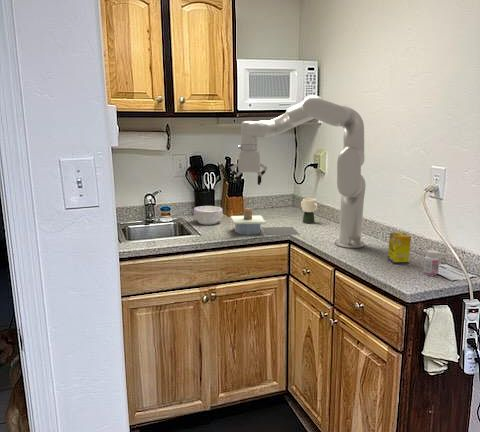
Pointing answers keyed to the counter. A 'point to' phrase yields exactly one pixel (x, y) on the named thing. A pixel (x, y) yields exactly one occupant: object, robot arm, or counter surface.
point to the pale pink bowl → (208, 214)
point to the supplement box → (399, 248)
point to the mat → (280, 231)
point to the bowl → (247, 229)
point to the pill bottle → (431, 262)
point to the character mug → (309, 209)
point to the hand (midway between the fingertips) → (248, 184)
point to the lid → (248, 218)
